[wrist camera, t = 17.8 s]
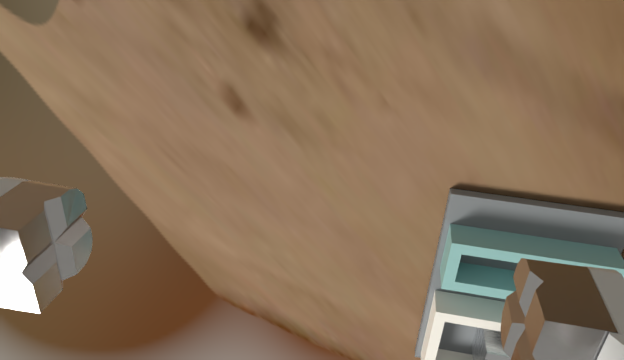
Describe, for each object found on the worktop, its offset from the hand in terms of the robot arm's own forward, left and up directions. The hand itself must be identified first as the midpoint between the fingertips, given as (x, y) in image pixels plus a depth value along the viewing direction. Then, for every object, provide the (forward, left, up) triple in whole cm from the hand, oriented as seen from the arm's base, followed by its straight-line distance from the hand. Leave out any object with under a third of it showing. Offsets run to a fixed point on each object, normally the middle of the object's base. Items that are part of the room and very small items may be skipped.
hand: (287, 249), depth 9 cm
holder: (-15, +26, -33) cm, 45 cm away
